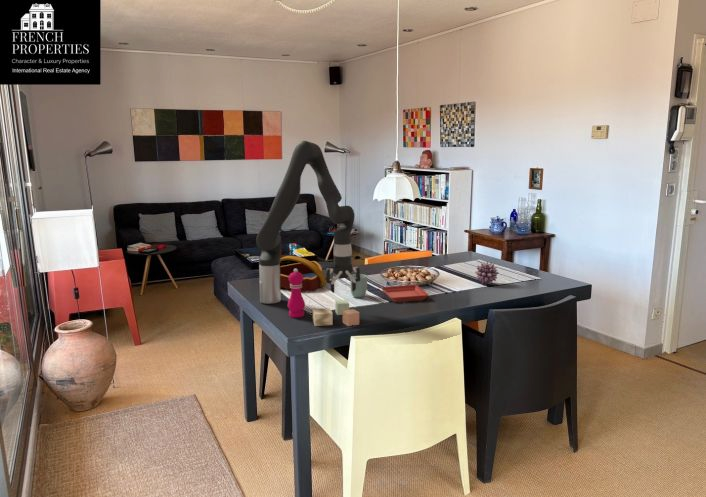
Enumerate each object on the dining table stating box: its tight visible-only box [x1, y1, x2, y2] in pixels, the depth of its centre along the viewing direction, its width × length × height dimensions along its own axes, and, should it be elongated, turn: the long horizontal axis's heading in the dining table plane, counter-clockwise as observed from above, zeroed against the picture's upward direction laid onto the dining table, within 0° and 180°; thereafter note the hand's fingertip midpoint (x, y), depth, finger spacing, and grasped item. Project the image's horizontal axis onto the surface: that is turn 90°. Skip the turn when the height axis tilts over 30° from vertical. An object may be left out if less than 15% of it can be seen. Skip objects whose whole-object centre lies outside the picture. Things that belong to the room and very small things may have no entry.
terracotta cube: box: [342, 308, 360, 327], centre depth 212 cm, size 5×5×5 cm
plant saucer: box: [380, 284, 430, 303], centre depth 251 cm, size 18×18×3 cm
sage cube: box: [334, 299, 350, 316], centre depth 226 cm, size 5×5×5 cm
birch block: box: [312, 307, 334, 327], centre depth 213 cm, size 7×7×5 cm
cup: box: [349, 273, 368, 299], centre depth 250 cm, size 8×8×10 cm
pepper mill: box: [287, 269, 306, 319], centre depth 221 cm, size 7×7×20 cm
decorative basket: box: [280, 255, 327, 292], centre depth 273 cm, size 34×29×15 cm
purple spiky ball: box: [474, 261, 500, 285], centre depth 273 cm, size 12×12×12 cm
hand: (343, 291), depth 225 cm, fingers open, 8 cm apart
